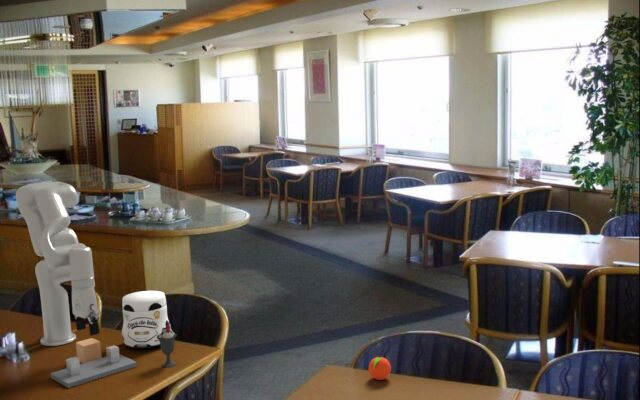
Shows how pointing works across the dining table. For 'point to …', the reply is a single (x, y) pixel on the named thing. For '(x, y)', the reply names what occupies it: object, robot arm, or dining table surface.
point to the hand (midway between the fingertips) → (88, 332)
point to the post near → (73, 366)
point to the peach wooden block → (88, 350)
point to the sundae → (167, 344)
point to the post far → (113, 354)
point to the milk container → (144, 318)
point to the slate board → (93, 371)
